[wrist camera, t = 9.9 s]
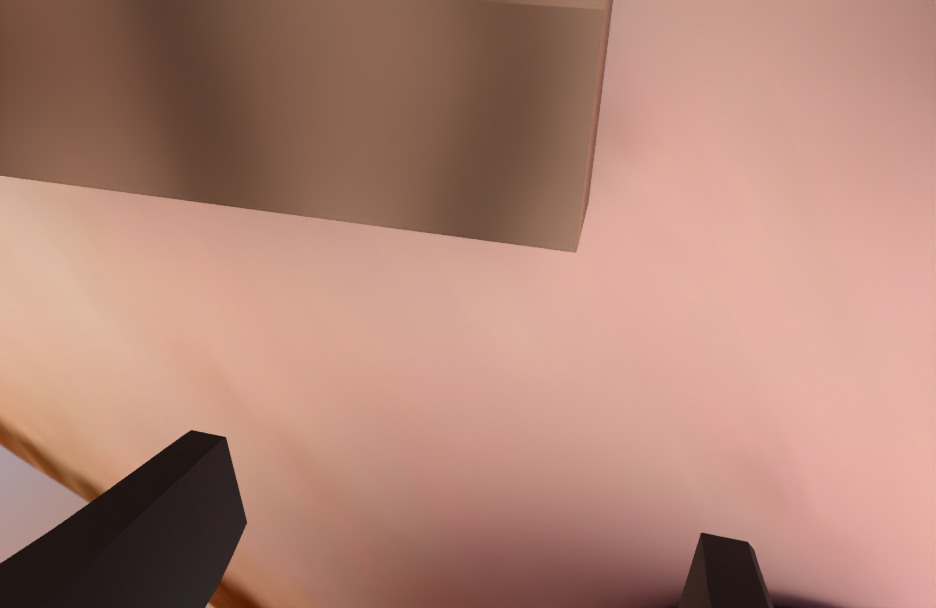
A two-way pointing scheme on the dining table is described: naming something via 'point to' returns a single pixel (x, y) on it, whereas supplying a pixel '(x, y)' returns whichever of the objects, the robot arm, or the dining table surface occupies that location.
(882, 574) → the dining table surface
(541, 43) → the block with rectangular hole
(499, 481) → the dining table surface
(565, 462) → the dining table surface
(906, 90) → the dining table surface
